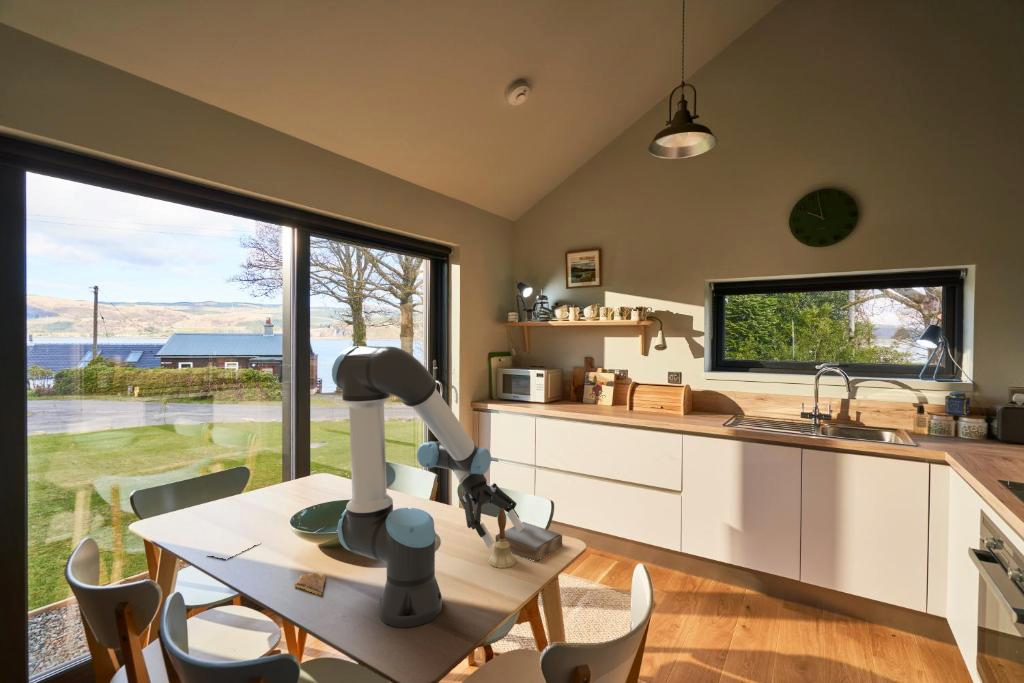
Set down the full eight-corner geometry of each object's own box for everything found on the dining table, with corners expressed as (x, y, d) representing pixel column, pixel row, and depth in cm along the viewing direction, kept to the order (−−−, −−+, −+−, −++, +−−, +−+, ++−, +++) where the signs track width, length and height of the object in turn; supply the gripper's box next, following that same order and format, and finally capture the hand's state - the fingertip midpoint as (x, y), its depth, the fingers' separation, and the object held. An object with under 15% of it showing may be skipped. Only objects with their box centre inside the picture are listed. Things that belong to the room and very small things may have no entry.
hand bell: (516, 568, 138) (516, 513, 138) (488, 568, 138) (488, 514, 138) (515, 554, 147) (515, 503, 146) (488, 555, 146) (488, 503, 146)
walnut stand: (535, 562, 142) (535, 548, 142) (495, 546, 152) (495, 534, 152) (562, 546, 153) (562, 533, 152) (523, 532, 163) (523, 521, 163)
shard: (322, 598, 123) (322, 591, 123) (289, 602, 121) (289, 595, 121) (326, 577, 134) (326, 571, 134) (297, 581, 132) (297, 574, 132)
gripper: (491, 474, 162) (525, 530, 153) (435, 494, 143) (470, 559, 134) (502, 462, 158) (539, 518, 149) (447, 480, 139) (484, 545, 130)
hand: (507, 537), depth 141 cm, fingers open, 13 cm apart
